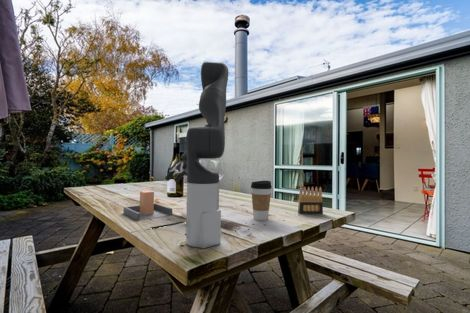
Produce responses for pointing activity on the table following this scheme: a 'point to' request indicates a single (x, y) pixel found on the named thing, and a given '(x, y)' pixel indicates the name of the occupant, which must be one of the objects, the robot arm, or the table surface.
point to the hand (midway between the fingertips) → (170, 180)
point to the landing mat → (167, 225)
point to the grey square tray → (158, 212)
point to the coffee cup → (261, 199)
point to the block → (146, 202)
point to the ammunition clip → (310, 201)
